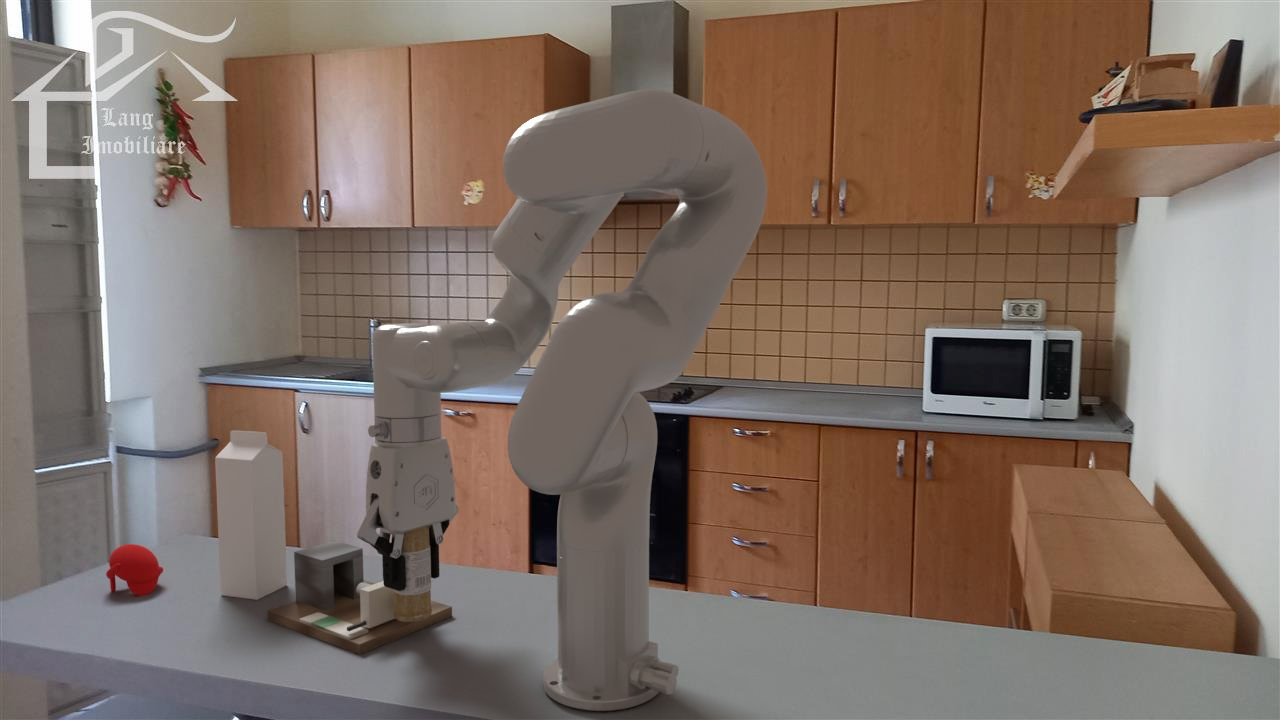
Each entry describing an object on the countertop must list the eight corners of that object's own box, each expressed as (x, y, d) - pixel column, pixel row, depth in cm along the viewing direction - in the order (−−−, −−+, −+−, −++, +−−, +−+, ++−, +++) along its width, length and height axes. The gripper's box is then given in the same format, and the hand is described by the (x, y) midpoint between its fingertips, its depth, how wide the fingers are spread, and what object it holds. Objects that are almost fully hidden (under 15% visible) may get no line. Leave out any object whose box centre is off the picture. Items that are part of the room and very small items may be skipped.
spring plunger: (422, 607, 108) (421, 573, 108) (352, 635, 100) (351, 597, 99) (387, 596, 112) (386, 563, 112) (317, 622, 103) (316, 586, 103)
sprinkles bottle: (422, 606, 106) (419, 498, 105) (439, 617, 103) (436, 505, 102) (386, 615, 103) (383, 504, 102) (402, 627, 100) (399, 512, 99)
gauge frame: (452, 615, 110) (450, 557, 109) (359, 654, 98) (357, 589, 97) (360, 587, 120) (359, 533, 119) (267, 619, 108) (265, 560, 108)
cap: (91, 566, 119) (97, 553, 115) (134, 542, 123) (142, 528, 119) (126, 613, 119) (133, 601, 115) (167, 587, 123) (176, 575, 119)
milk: (252, 581, 122) (246, 426, 121) (288, 585, 121) (282, 428, 119) (219, 596, 117) (213, 433, 115) (257, 600, 115) (251, 435, 113)
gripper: (369, 443, 92) (374, 610, 94) (483, 422, 106) (485, 568, 108) (325, 436, 96) (331, 596, 98) (440, 417, 110) (443, 558, 112)
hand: (411, 580), depth 103 cm, fingers closed on sprinkles bottle, 4 cm apart
